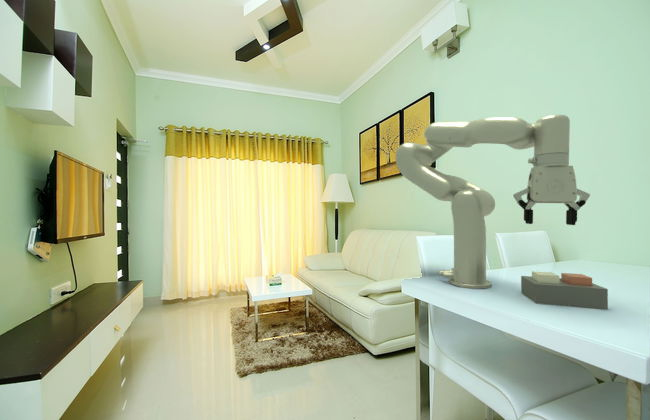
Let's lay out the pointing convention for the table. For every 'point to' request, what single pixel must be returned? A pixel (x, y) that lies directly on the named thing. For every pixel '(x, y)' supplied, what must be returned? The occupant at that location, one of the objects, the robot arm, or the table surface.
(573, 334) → the table surface
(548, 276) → the cream key
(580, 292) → the key panel
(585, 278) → the red key
